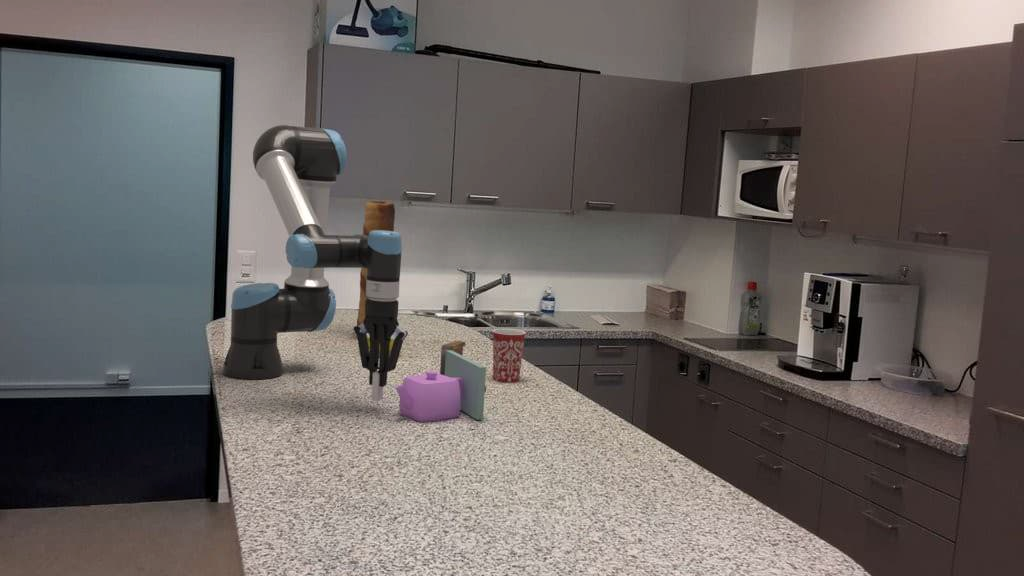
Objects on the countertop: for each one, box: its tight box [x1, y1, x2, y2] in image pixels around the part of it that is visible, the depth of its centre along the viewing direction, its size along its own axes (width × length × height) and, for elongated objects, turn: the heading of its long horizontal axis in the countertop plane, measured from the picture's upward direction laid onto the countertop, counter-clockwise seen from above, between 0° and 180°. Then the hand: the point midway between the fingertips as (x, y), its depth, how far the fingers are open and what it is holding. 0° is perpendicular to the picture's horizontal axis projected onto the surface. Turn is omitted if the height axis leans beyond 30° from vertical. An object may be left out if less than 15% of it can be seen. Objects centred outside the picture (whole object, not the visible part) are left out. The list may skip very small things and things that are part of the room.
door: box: [445, 350, 487, 421], centre depth 217 cm, size 20×3×12 cm, turn 27°
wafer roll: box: [356, 200, 396, 333], centre depth 300 cm, size 10×11×45 cm
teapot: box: [395, 370, 463, 423], centre depth 210 cm, size 18×10×10 cm, turn 130°
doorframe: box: [439, 340, 466, 376], centre depth 231 cm, size 3×10×13 cm, turn 161°
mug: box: [492, 328, 527, 383], centre depth 255 cm, size 13×9×14 cm
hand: (377, 399), depth 214 cm, fingers closed
